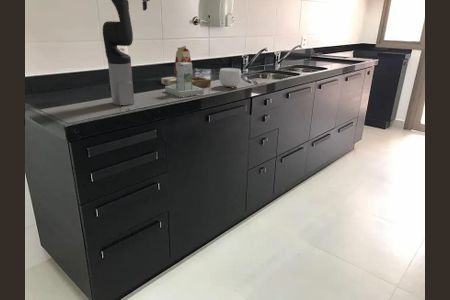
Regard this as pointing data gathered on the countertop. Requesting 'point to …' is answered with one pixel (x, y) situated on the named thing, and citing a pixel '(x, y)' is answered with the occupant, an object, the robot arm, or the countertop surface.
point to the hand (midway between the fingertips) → (136, 10)
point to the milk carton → (182, 57)
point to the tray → (194, 91)
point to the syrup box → (184, 76)
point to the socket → (201, 82)
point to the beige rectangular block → (169, 81)
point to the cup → (230, 77)
